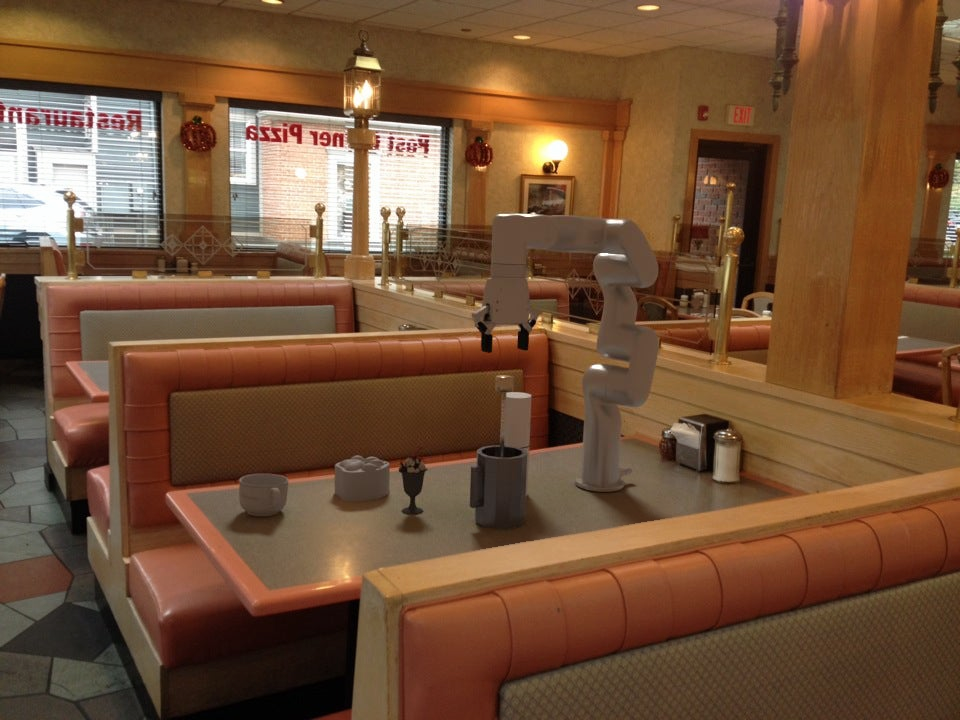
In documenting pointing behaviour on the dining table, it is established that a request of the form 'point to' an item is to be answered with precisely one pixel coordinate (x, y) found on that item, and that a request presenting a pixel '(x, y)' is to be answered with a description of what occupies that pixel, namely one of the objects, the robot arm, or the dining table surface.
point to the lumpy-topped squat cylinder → (362, 479)
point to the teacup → (263, 493)
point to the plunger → (503, 403)
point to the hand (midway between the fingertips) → (504, 350)
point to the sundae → (413, 481)
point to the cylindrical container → (518, 423)
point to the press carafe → (499, 487)
